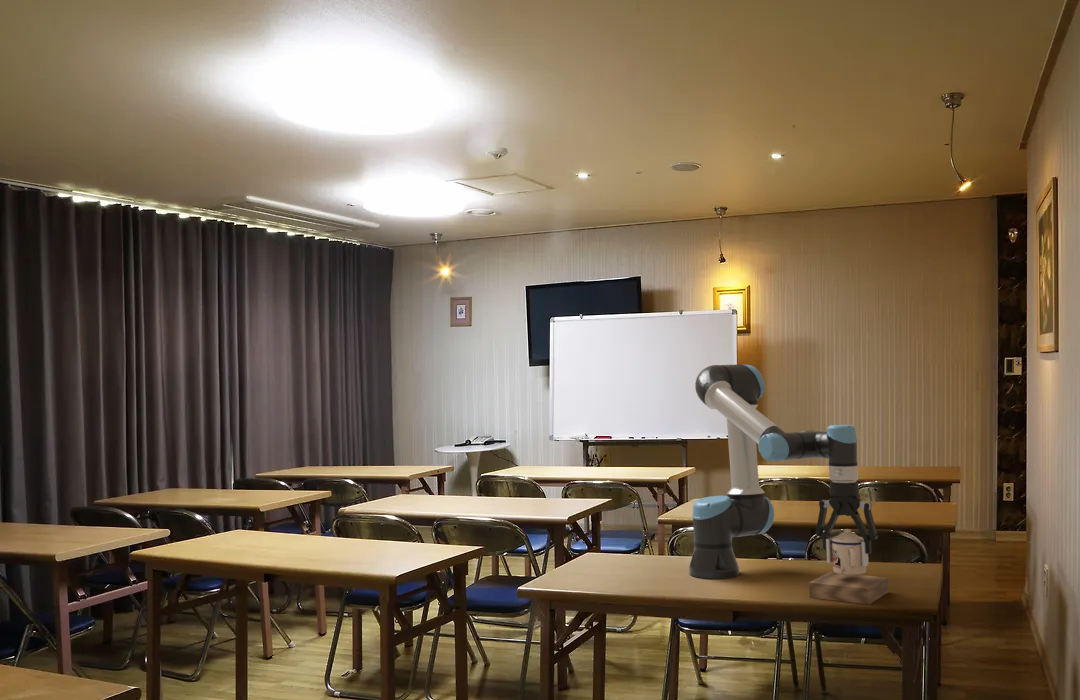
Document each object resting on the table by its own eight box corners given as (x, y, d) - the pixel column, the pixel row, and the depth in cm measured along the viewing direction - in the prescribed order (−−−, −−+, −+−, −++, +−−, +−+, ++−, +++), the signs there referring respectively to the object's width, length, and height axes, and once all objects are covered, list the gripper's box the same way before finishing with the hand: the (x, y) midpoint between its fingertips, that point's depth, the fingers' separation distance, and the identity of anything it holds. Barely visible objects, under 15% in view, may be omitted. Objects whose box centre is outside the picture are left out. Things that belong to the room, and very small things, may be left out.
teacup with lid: (829, 568, 252) (827, 527, 252) (863, 568, 250) (861, 526, 251) (837, 578, 240) (835, 534, 241) (872, 577, 239) (870, 533, 239)
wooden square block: (809, 597, 244) (809, 582, 244) (830, 586, 257) (829, 571, 257) (869, 604, 234) (868, 589, 234) (888, 592, 247) (887, 577, 247)
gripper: (800, 480, 250) (803, 562, 249) (880, 484, 237) (884, 570, 236) (810, 478, 256) (813, 557, 255) (888, 481, 243) (892, 565, 242)
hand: (847, 563), depth 246 cm, fingers closed on teacup with lid, 9 cm apart
